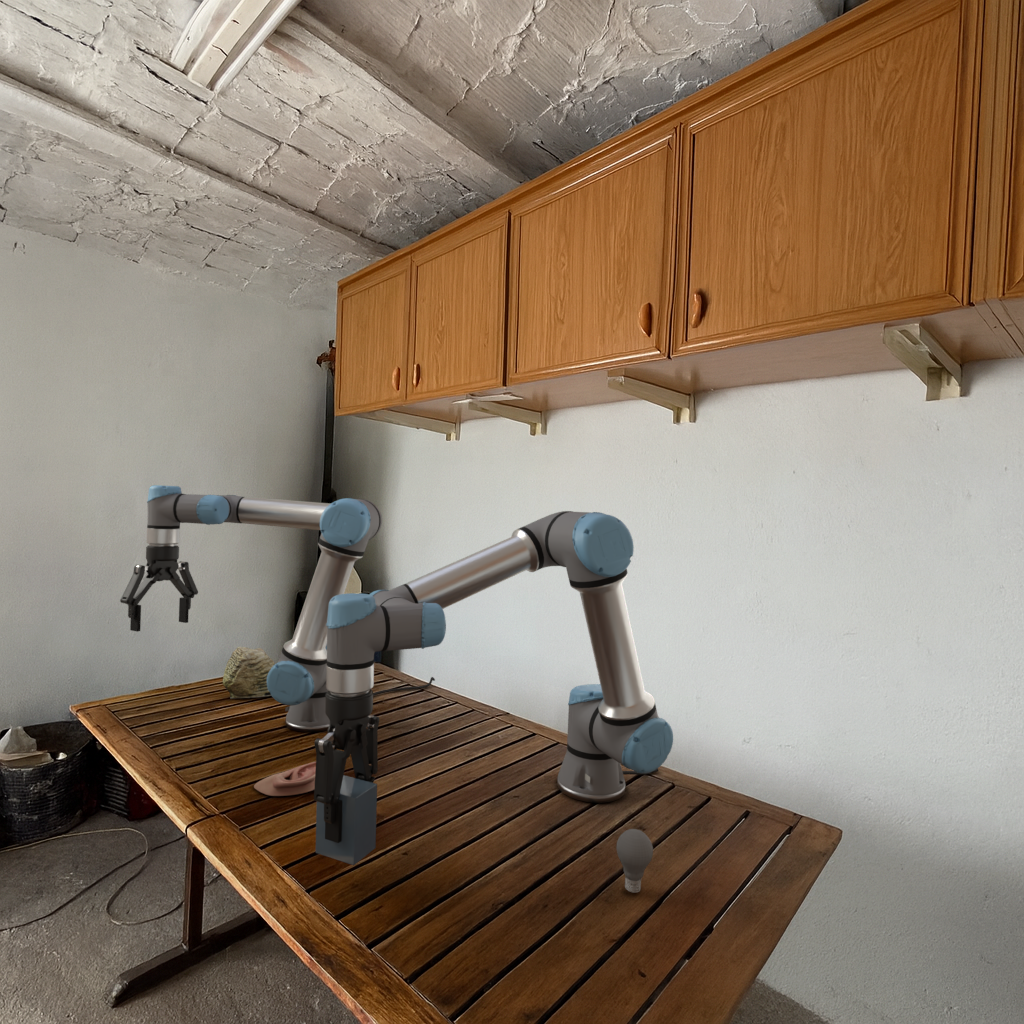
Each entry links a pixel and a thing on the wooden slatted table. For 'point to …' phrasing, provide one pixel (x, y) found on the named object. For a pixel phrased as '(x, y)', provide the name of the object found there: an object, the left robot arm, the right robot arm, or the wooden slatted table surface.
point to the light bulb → (634, 857)
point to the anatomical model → (289, 781)
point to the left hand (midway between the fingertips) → (160, 626)
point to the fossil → (247, 673)
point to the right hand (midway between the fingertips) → (346, 830)
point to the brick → (351, 822)
